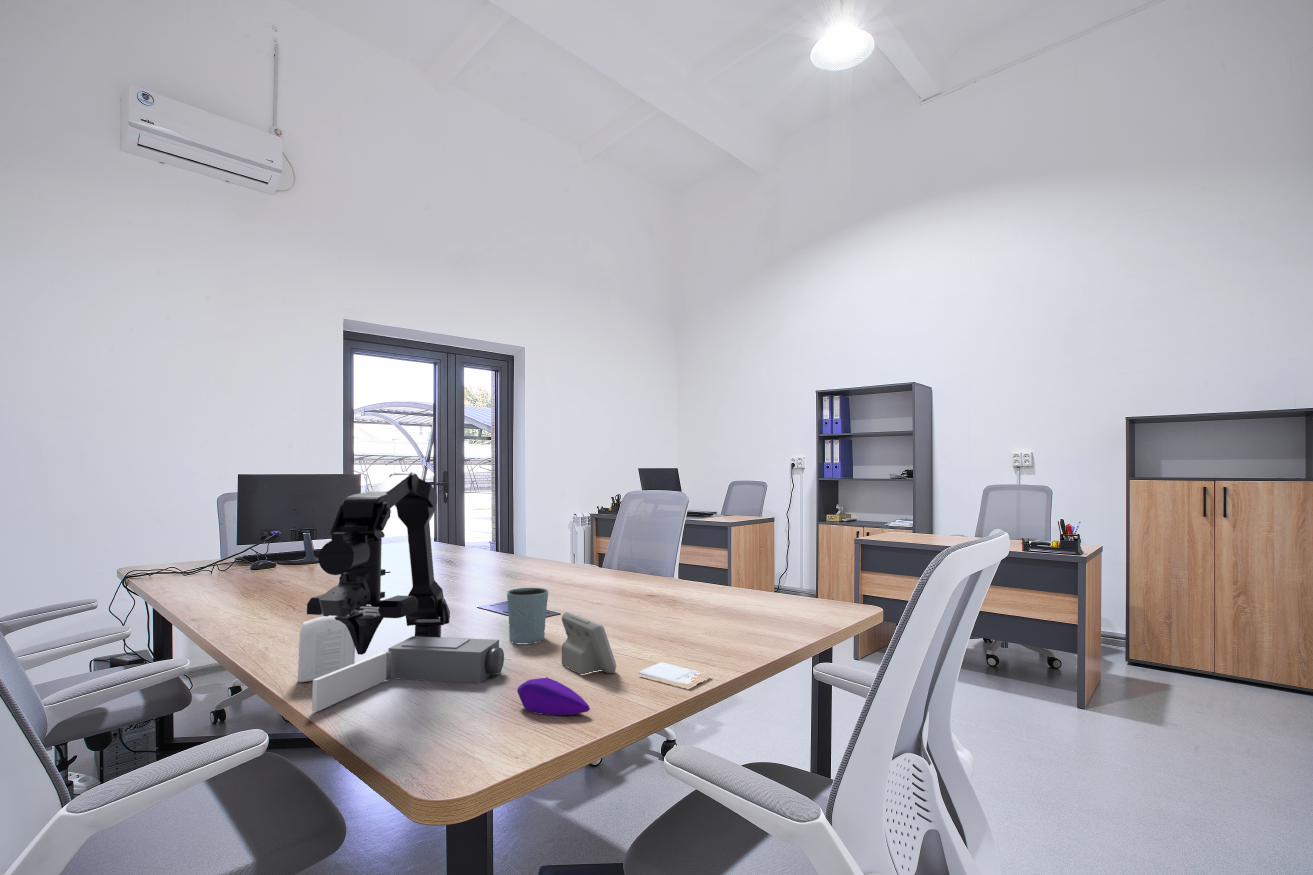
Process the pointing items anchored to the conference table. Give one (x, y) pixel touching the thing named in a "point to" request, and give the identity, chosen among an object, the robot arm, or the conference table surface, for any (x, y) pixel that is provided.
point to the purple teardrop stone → (550, 698)
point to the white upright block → (324, 648)
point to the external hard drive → (669, 673)
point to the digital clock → (586, 645)
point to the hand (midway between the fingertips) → (361, 653)
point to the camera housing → (446, 659)
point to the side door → (350, 680)
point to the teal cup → (527, 614)
